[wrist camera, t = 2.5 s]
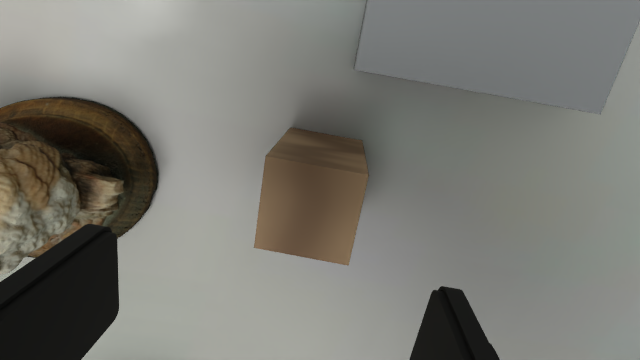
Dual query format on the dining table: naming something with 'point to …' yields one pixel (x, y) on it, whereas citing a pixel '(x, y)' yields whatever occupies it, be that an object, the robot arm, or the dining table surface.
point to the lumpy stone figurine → (68, 174)
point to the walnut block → (312, 196)
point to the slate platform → (503, 46)
